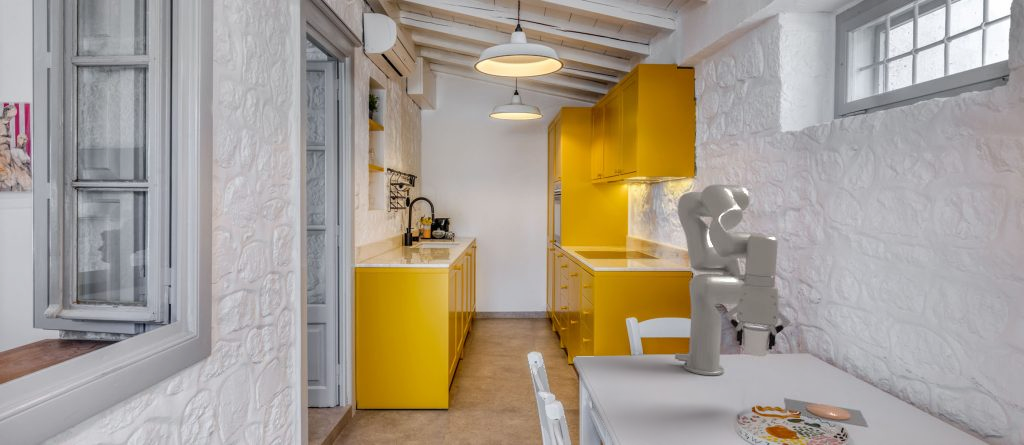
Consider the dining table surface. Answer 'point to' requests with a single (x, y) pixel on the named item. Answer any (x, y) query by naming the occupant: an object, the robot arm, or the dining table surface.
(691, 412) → the dining table surface
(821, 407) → the coaster
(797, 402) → the board
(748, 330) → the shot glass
